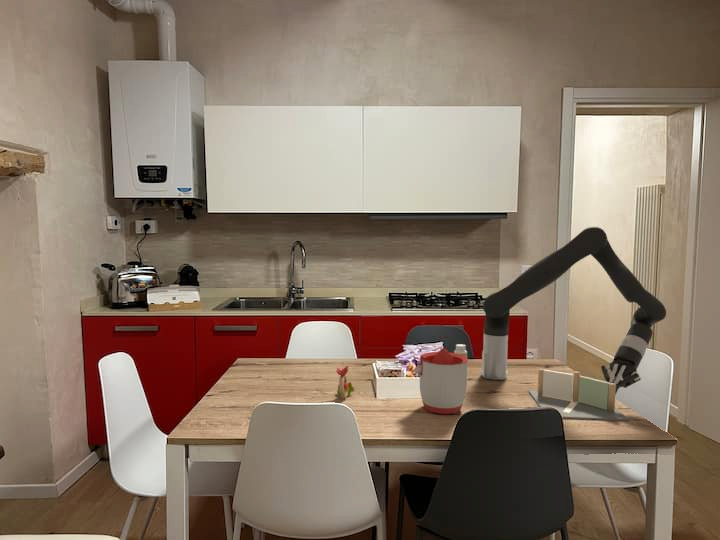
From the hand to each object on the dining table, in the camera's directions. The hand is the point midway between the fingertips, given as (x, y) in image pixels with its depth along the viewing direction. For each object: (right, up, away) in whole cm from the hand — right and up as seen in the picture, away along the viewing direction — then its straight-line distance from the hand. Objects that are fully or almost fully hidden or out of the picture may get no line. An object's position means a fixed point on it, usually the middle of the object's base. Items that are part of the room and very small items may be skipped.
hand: (609, 394), depth 167 cm
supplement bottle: (-38, -1, +51) cm, 63 cm away
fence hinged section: (-3, -4, +2) cm, 6 cm away
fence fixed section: (-12, -4, +11) cm, 17 cm away
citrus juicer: (-54, -5, +2) cm, 55 cm away
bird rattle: (-86, -4, +12) cm, 87 cm away
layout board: (-9, -5, +6) cm, 12 cm away
